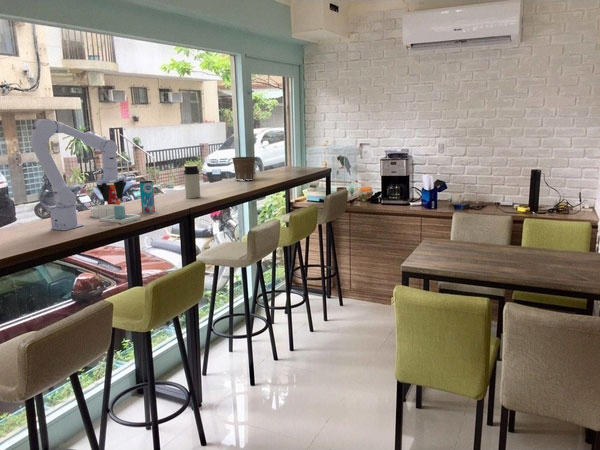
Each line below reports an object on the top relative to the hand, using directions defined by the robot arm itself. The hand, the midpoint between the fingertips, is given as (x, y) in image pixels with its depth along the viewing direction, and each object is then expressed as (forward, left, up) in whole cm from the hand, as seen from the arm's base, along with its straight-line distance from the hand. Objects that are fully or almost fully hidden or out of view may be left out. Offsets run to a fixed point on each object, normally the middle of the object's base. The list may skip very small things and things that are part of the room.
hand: (113, 199), depth 218 cm
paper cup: (+23, +22, -10) cm, 33 cm away
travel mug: (+67, +7, -10) cm, 68 cm away
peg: (+1, -3, -9) cm, 9 cm away
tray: (+1, -3, -9) cm, 10 cm away
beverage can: (+20, -2, -10) cm, 22 cm away
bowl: (+7, +11, -9) cm, 16 cm away
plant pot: (+142, +18, -10) cm, 143 cm away
